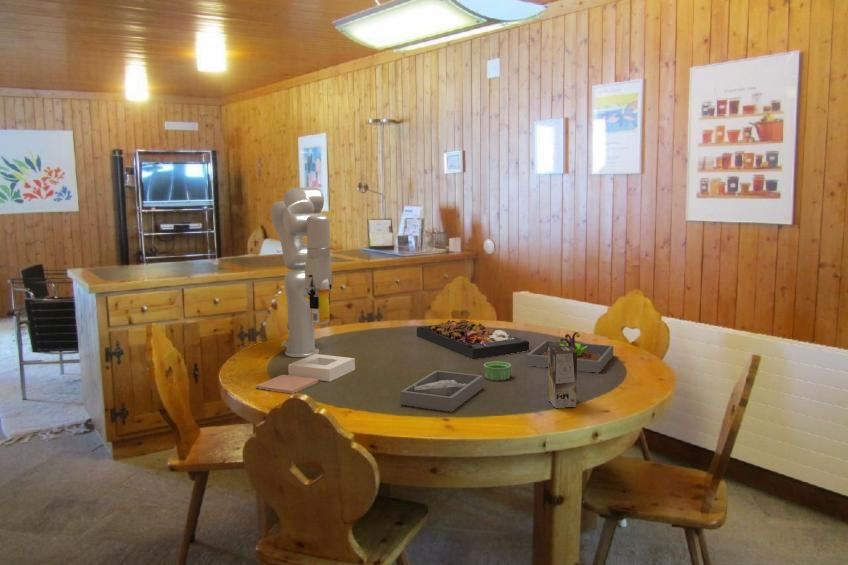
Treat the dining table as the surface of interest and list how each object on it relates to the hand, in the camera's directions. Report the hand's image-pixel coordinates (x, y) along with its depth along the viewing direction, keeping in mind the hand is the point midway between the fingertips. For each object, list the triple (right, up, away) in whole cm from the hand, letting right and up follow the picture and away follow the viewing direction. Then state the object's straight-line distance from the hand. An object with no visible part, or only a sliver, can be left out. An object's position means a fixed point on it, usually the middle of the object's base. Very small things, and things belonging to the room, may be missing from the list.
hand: (320, 306), depth 236 cm
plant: (+87, -21, +15) cm, 91 cm away
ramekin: (+59, -24, -5) cm, 63 cm away
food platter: (+53, -17, +45) cm, 71 cm away
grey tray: (+40, -26, -25) cm, 54 cm away
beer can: (0, -6, +1) cm, 6 cm away
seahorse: (+41, -26, -25) cm, 54 cm away
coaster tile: (-9, -25, -12) cm, 29 cm away
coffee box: (+74, -27, -32) cm, 85 cm away
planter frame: (+87, -20, +15) cm, 90 cm away
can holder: (0, -23, +3) cm, 23 cm away
